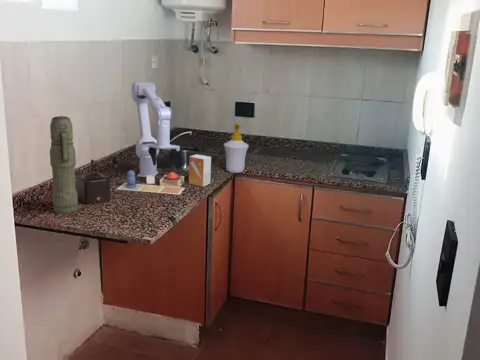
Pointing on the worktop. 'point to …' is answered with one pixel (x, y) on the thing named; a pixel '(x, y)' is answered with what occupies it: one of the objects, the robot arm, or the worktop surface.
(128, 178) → the pawn
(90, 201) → the dark brown coffee grinder
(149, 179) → the ivory die
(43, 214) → the worktop surface
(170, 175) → the dome button
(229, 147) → the soap bottle
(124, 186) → the game mat
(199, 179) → the small box
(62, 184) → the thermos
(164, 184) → the frame
